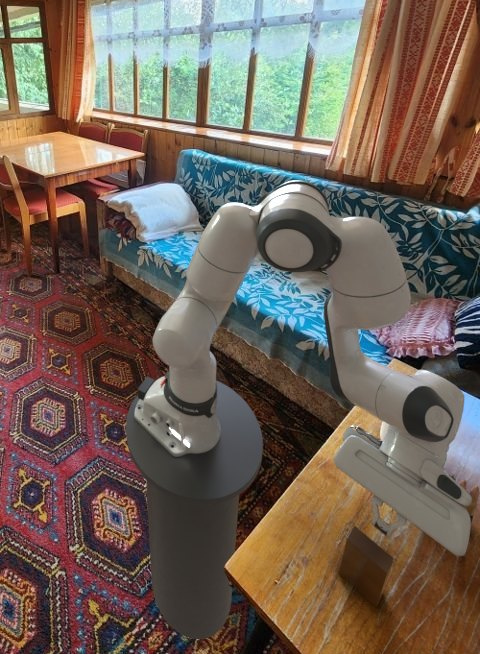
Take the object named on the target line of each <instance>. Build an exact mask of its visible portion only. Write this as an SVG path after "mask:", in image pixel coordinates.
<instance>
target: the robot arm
mask: <svg viewBox="0 0 480 654" xmlns="http://www.w3.org/2000/svg"><path fill="white" fill-rule="evenodd" d="M329 210H330V209H329V203H328V199H327V197H326V195H325V194H324V192H323V191H322V189H320V188H319V187H318V186H317V185H315V184H314V183H312V182H310V181H307V180H302V179H295V180H289V181H285V182H284V183H281V184H280V185H278V186H276V187H275V188H273V189H272V190H271V191H269V192H267V193H266V194H264V195H262V196H261V197H259V198H258V200H257V202H256V206H252V205H251V206H250V205H248V204H245V203H242V202H228V203H225V204H223V205H221V206H220V207H219V208H218V209H217V210H216V211H215V213H214V215H213V216H211V219H210V220H209V221H208V223H207V225H206V227H205V228H204V230H203V232H202V234H201V236H200V238H199V241H198V243H197V245H196V247H195V250H194V252H193V253H192V254H193V255H192V257H191V259H190V261H189V264H188V266H187V268H186V272H185V277H186V280H185V284H184V286H183V288H182V290H181V291H180V293H179V294H178V296H177V298H176V299H175V300H174V301H173V303H172V304H171V306H170V307H169V308H168V309H167V310H166V312H165V313H164V314H163V315H162V316H161V318H160V320H159V322H158V323H157V326H156V329H155V331H154V334H153V336H152V346H153V349H154V352H155V353H156V355H157V356H158V358H159V359H160V360H161V361H162V362H163V363H165V364H166V365H167V366H168V367H169V368H168V371H167V372H166V373H165V374H164V376H161V377H159V378H158V379H153V378H151V377H150V376H146V378H145V379H144V380H143V382H142V383H141V384H140V385H139V386H138V387H137V389H136V390H137V395H138V398H139V399H140V400H139V401H138V403H137V405H136V408H135V414H134V418H135V419H136V420H137V421H138V422H139V423H140V424H141V425H142V426H143V427H144V428H145V429H146V430H147V431H148V432H149V433H150V434H151V435H152V436H153V437H154V438H155V439H156V440H157V441H158V442H159V443H160V444H161V445H162V446H163V447H165V448H166V449H167V450H168V451H169V452H170V453H171V454H172V455H173V456H175V457H179V456H182V455H185V454H188V453H194V454H197V453H204V452H207V451H209V450H211V449H212V448H213V447H214V446H215V445H216V444H217V443H218V441H219V439H220V435H221V427H220V423H219V420H218V417H217V412H216V408H217V401H218V398H217V384H216V381H217V359H216V357H215V355H214V353H213V352H211V349H210V348H211V345H212V341H213V339H214V337H215V334H216V333H217V330H218V329H219V327H220V325H221V324H222V321H223V320H224V318H225V317H226V314H227V312H228V310H229V308H230V307H231V305H232V303H233V301H234V299H235V297H236V296H237V293H238V291H239V290H240V288H241V286H242V284H243V282H244V280H245V279H246V277H247V275H248V273H249V272H250V269H251V268H252V265H253V264H254V261H255V259H256V257H257V256H258V255H259V254H260V256H261V258H262V259H263V260H264V261H265V262H266V264H268V265H269V266H271V267H272V268H274V269H277V270H279V271H282V272H288V273H306V272H317V273H319V272H323V271H326V274H327V275H326V276H327V277H328V282H329V284H330V288H331V292H330V293H329V294H328V295H327V296H326V298H325V301H324V305H323V319H324V327H325V334H326V342H327V347H328V355H329V369H328V376H329V382H330V385H331V388H332V391H333V392H334V393H335V395H336V396H337V397H338V398H339V399H340V400H342V401H345V402H347V403H349V404H350V405H354V407H357V408H359V409H361V410H363V411H364V412H366V413H368V414H369V415H371V416H373V417H375V418H376V419H378V420H379V421H381V422H385V423H387V424H389V427H388V430H387V432H386V434H385V437H384V439H383V441H381V438H378V437H377V436H375V435H373V434H372V433H370V432H368V431H367V430H366V429H364V428H363V427H361V426H358V425H357V426H355V425H348V426H347V427H346V428H345V430H344V432H343V435H342V444H340V445H339V447H338V449H337V451H336V453H335V455H334V457H333V464H334V466H335V468H337V469H338V470H340V471H341V472H342V473H344V474H345V475H346V476H348V477H349V478H351V480H353V481H354V482H356V483H357V484H358V485H360V486H361V487H362V488H364V489H365V490H366V491H367V492H369V493H371V494H372V495H373V497H372V499H371V506H372V511H373V517H372V521H371V522H370V524H371V526H372V527H374V528H375V529H377V531H379V532H380V533H381V534H383V535H384V536H385V537H386V538H388V539H391V537H392V535H393V533H394V531H395V530H397V529H399V528H401V527H404V526H405V525H406V523H407V521H408V522H409V523H411V524H412V525H414V526H415V527H417V528H418V529H419V530H420V531H422V532H423V533H425V534H426V535H427V536H429V537H430V538H431V539H433V540H434V541H435V542H436V543H438V544H439V545H441V546H442V547H443V548H445V549H446V550H447V551H448V552H450V553H451V554H453V555H454V556H455V557H463V556H465V555H466V553H467V550H468V545H469V541H470V537H471V536H470V535H471V526H472V522H471V519H470V515H469V513H468V511H467V509H466V508H465V507H464V506H469V505H470V504H471V502H472V497H471V495H470V494H469V493H470V492H468V491H467V489H466V490H465V489H464V488H463V487H462V486H461V485H460V484H459V483H460V482H458V481H457V480H456V478H455V476H454V477H453V476H451V475H450V474H449V473H448V471H446V469H445V465H446V463H447V459H448V458H447V457H448V454H447V453H448V452H447V449H448V446H449V447H450V445H451V444H452V442H453V441H455V439H456V436H457V434H458V431H459V428H460V426H461V421H462V417H463V414H464V408H465V393H463V391H462V390H461V389H460V388H459V387H458V386H457V385H456V384H454V383H453V382H452V381H450V380H449V379H447V378H445V377H443V375H440V374H438V373H436V372H433V371H430V370H426V369H418V370H417V371H416V372H415V373H414V374H405V373H403V372H401V371H398V370H395V369H394V368H391V367H389V366H387V365H385V364H383V363H380V362H378V361H376V360H375V359H373V358H371V357H370V356H368V355H367V354H365V353H364V351H362V349H361V344H360V335H359V330H361V331H362V330H363V331H377V330H382V329H385V328H389V327H392V326H394V325H395V324H397V323H399V322H400V321H401V320H402V319H404V317H406V315H407V313H408V312H409V310H410V308H411V304H412V302H411V301H412V298H411V297H412V295H411V289H410V285H409V281H408V278H407V274H406V270H405V268H404V264H403V262H402V259H401V256H400V255H399V252H398V249H397V247H396V245H395V243H394V241H393V239H392V237H391V235H390V234H389V232H388V230H387V228H386V227H385V226H384V225H383V224H382V223H381V222H379V221H377V220H376V219H374V218H371V217H367V216H348V217H344V218H343V217H337V216H334V215H332V214H331V215H330V211H329ZM156 380H157V381H156ZM139 408H140V409H139ZM390 428H391V429H390ZM392 429H393V430H392ZM397 432H398V433H397ZM171 447H174V448H171ZM430 452H431V453H430ZM383 504H385V505H387V506H388V507H389V508H391V509H392V510H394V511H395V512H396V515H395V517H394V518H395V520H396V522H394V523H391V524H389V523H388V522H387V521H386V520H384V519H383V518H382V517H381V515H380V509H379V508H380V507H383ZM463 505H464V506H463Z"/></svg>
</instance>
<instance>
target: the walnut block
mask: <svg viewBox="0 0 480 654" xmlns="http://www.w3.org/2000/svg"><path fill="white" fill-rule="evenodd" d="M393 563H394V557H393V556H392V555H391V554H390V553H388V552H387V551H386V550H385V549H383V548H382V547H381V546H379V544H378V543H376V542H375V541H374V540H372V538H370V537H369V536H368V535H367V534H365V533H364V531H362V530H361V529H359V528H358V527H357V526H355V525H353V527H351V530H350V532H349V534H348V535H347V537H346V540H345V544H344V548H343V553H342V556H341V561H340V565H339V569H338V573H339V574H340V575H341V576H342V578H344V579H345V581H347V583H349V584H350V585H351V586H352V587H353V588H354V589H356V590H357V592H359V593H360V594H361V595H362V596H363V597H364V598H365V599H366V600H367V601H368V602H369V603H370V604H371V605H372V606H374V607H375V608H377V607H378V605H379V603H380V601H381V598H382V596H383V593H384V591H385V588H386V586H387V582H388V578H389V575H390V572H391V570H392V569H391V568H392V566H393Z"/></svg>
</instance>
